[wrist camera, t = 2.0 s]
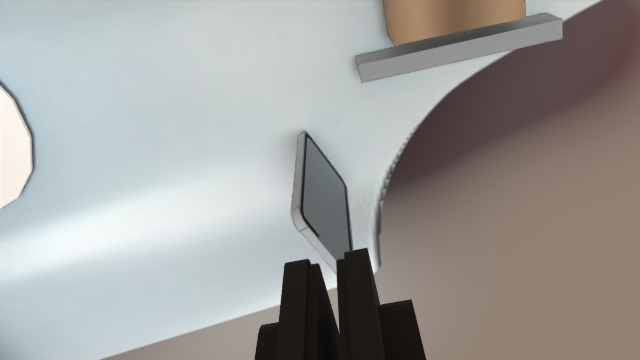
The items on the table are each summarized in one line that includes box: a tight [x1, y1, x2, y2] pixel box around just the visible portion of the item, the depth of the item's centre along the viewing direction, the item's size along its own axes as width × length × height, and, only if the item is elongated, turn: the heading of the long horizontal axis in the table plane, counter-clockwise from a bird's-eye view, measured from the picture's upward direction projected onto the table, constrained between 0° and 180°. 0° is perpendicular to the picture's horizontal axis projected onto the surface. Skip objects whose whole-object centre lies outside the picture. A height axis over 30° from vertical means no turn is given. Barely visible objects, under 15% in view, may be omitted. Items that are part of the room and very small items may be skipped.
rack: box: [356, 13, 563, 83], centre depth 38 cm, size 16×9×3 cm, turn 103°
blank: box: [383, 0, 525, 46], centre depth 38 cm, size 10×4×4 cm, turn 102°
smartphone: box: [291, 131, 353, 275], centre depth 40 cm, size 7×1×15 cm, turn 34°
